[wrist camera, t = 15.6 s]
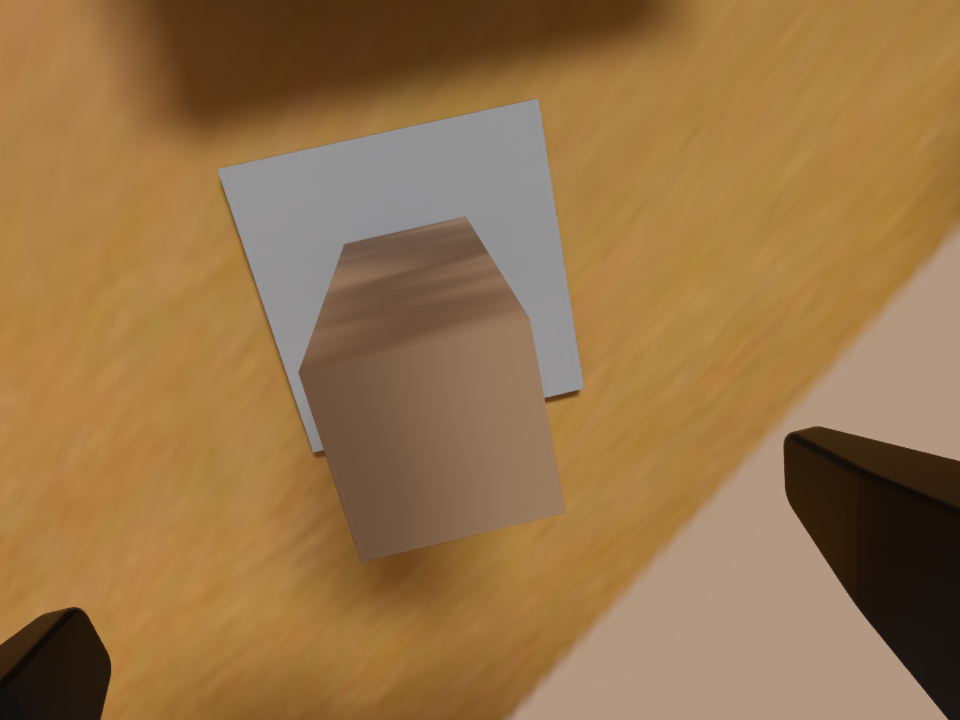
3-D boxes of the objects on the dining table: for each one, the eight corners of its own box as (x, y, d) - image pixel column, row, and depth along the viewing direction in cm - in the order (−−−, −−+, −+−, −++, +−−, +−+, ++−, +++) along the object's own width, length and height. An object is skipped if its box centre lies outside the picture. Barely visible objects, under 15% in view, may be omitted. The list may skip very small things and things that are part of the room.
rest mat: (535, 99, 19) (538, 99, 19) (580, 384, 22) (584, 388, 22) (220, 168, 19) (217, 169, 18) (314, 446, 22) (313, 452, 22)
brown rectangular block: (465, 216, 20) (529, 318, 10) (489, 330, 21) (565, 512, 12) (344, 243, 19) (298, 372, 10) (376, 357, 21) (360, 562, 11)
